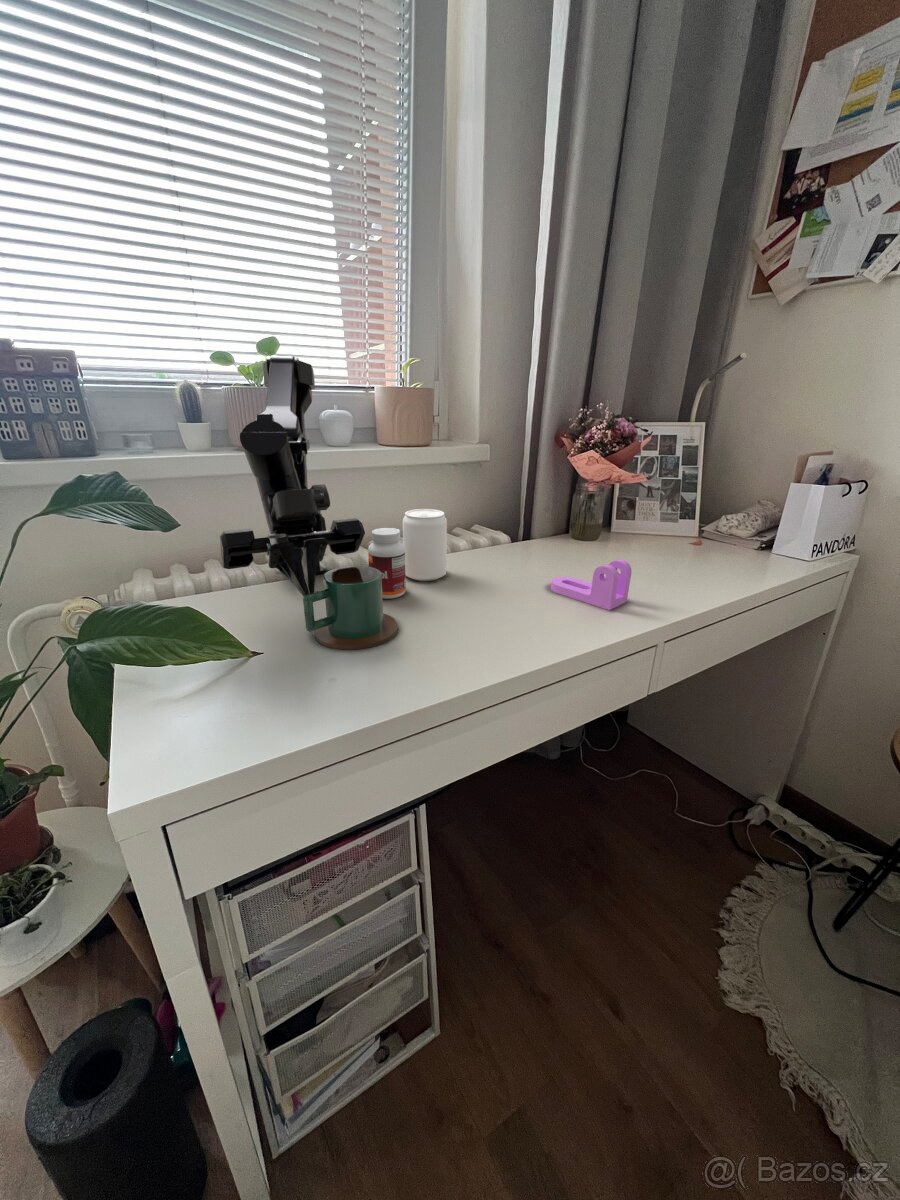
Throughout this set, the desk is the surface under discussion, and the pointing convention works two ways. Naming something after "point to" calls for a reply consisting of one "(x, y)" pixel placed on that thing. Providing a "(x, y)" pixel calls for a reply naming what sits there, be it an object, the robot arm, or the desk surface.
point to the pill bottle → (388, 561)
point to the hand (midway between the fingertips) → (309, 597)
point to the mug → (348, 603)
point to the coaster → (361, 643)
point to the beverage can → (425, 544)
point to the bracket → (598, 586)
